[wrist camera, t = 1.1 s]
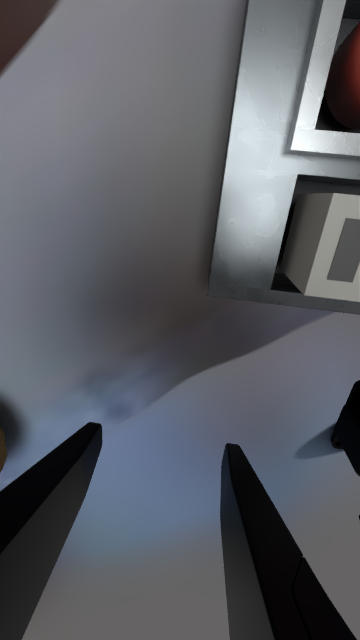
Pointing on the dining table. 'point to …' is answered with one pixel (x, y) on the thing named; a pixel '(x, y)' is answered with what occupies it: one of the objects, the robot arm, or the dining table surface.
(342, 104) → the button
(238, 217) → the grey flat box
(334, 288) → the on key
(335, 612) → the robot arm
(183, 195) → the dining table surface
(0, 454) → the potato
